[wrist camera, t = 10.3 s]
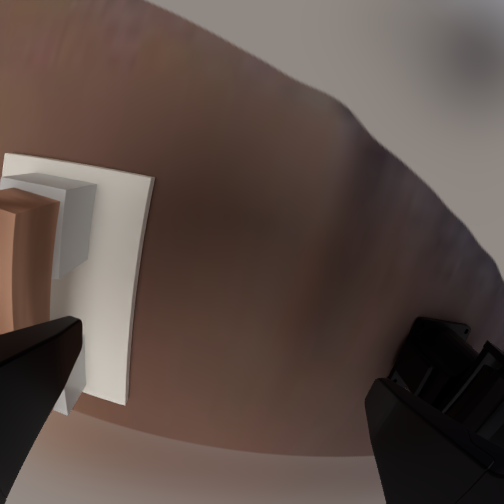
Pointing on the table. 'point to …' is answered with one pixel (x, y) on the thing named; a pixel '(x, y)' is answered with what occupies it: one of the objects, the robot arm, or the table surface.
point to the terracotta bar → (26, 257)
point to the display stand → (92, 263)
